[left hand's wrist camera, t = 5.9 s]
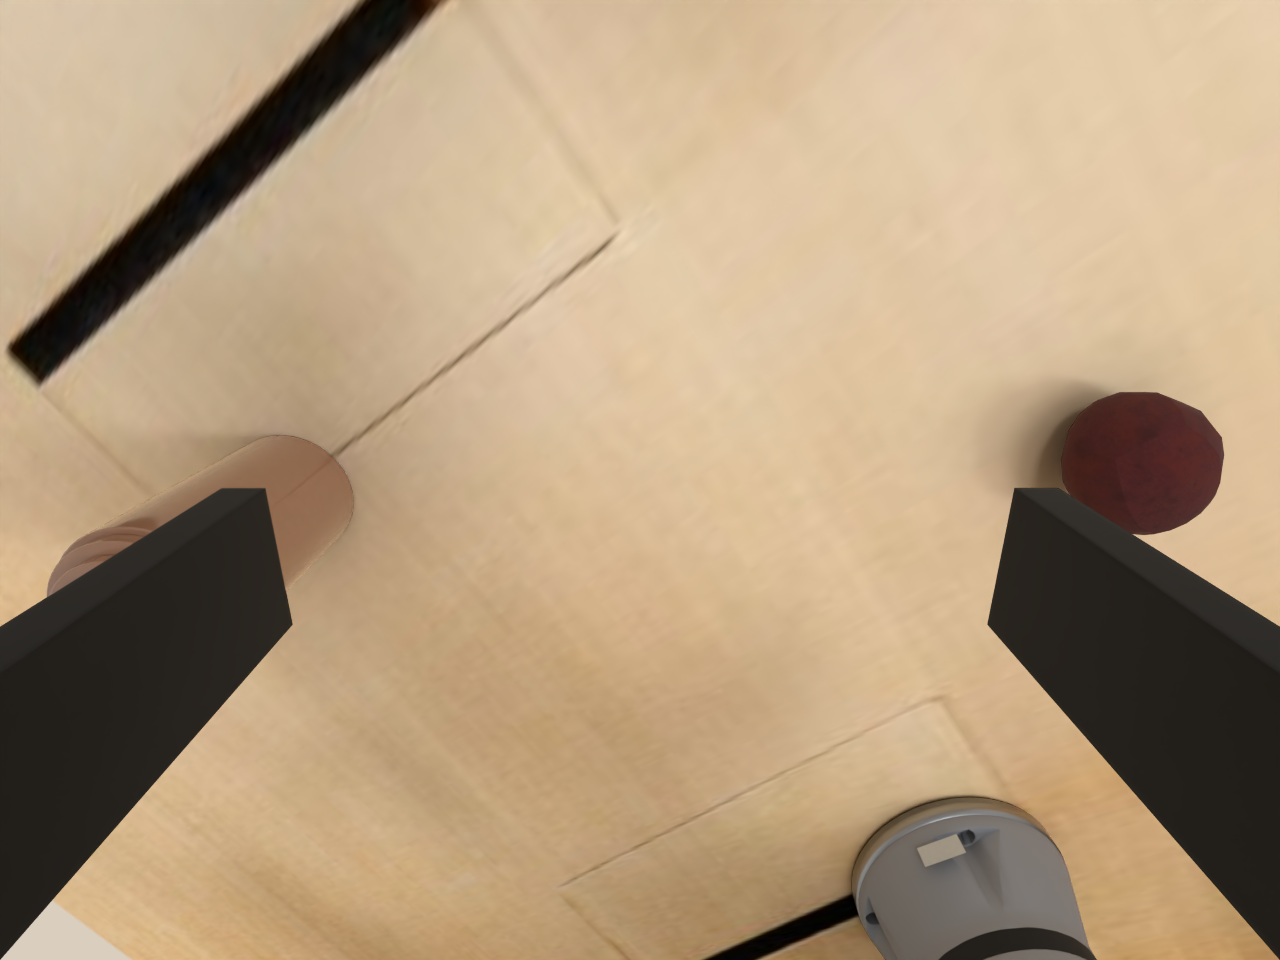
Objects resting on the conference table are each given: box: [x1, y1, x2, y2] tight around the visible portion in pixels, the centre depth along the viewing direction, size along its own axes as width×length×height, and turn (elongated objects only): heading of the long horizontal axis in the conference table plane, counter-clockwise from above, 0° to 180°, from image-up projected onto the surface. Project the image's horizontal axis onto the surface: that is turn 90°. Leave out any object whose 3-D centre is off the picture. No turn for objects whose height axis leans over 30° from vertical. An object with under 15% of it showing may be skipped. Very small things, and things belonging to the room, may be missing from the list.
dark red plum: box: [1061, 392, 1224, 535], centre depth 37 cm, size 7×8×7 cm
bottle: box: [47, 435, 353, 597], centre depth 33 cm, size 8×8×19 cm
